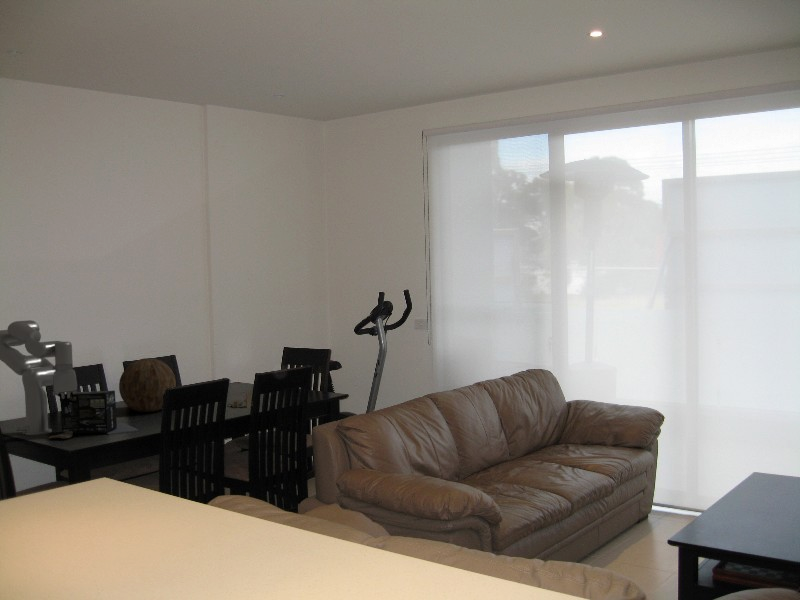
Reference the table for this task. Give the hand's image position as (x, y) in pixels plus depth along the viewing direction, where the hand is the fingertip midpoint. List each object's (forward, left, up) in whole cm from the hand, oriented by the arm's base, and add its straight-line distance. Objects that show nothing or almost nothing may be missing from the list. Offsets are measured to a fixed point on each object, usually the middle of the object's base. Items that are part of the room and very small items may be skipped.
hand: (65, 406), depth 371 cm
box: (+11, 0, -13) cm, 17 cm away
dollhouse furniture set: (+99, +21, -14) cm, 102 cm away
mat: (+23, 0, -14) cm, 27 cm away
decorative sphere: (+52, +41, -14) cm, 67 cm away
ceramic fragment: (+1, -9, -14) cm, 16 cm away
